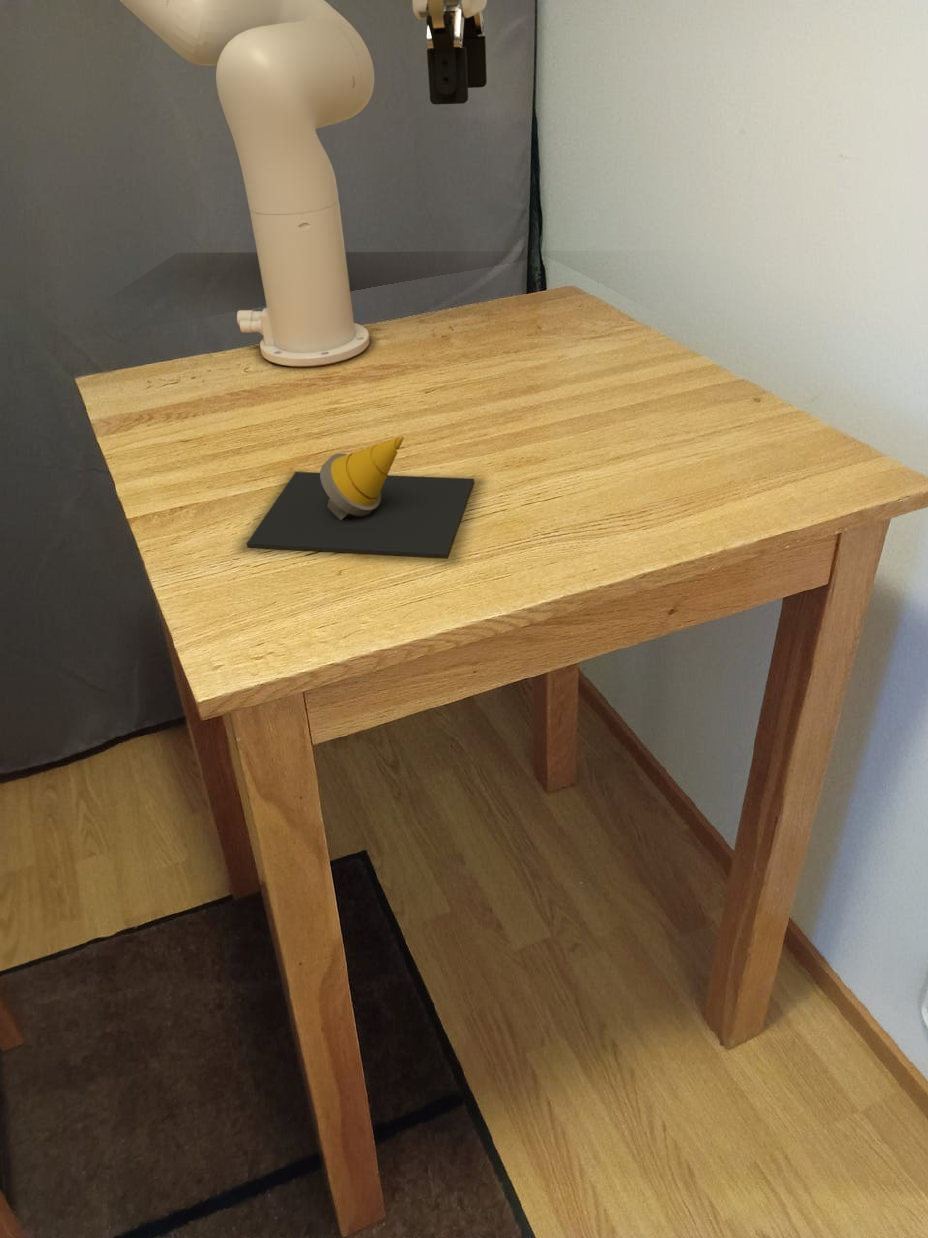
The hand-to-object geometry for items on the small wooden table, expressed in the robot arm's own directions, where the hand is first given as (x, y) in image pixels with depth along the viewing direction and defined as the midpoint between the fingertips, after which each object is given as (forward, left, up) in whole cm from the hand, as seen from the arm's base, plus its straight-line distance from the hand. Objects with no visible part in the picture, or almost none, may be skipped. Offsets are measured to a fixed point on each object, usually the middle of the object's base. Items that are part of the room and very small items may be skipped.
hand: (459, 94), depth 82 cm
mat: (-4, -29, -26) cm, 39 cm away
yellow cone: (-4, -29, -26) cm, 39 cm away
